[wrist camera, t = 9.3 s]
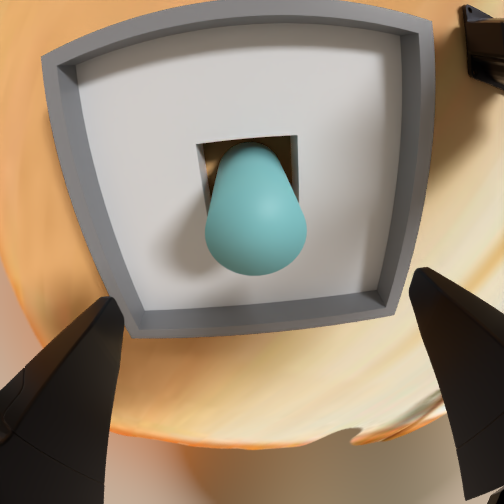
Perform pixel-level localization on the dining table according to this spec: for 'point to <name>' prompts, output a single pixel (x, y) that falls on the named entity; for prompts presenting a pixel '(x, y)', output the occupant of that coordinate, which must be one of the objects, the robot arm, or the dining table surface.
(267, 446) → the dining table surface
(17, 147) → the dining table surface
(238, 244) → the peg
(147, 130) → the box
